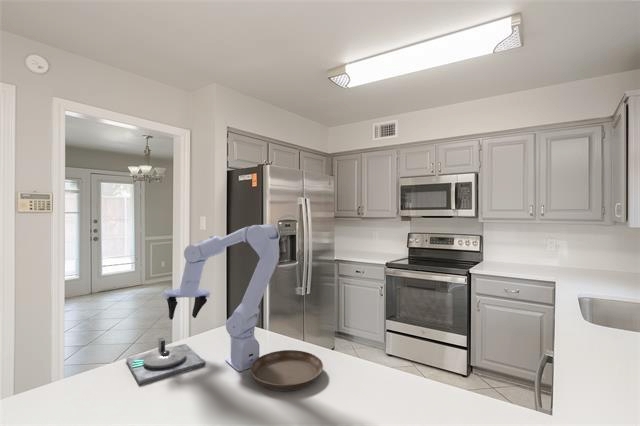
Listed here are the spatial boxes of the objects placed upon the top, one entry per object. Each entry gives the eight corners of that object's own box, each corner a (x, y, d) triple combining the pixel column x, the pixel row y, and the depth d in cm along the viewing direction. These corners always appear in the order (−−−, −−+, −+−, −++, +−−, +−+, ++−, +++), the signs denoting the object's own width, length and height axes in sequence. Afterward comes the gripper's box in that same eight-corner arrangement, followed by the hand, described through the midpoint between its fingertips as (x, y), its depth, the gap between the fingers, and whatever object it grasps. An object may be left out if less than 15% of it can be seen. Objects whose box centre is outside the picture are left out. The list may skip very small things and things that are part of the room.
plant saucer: (314, 400, 84) (314, 387, 84) (238, 391, 88) (238, 378, 88) (328, 363, 104) (328, 353, 104) (266, 357, 108) (266, 347, 108)
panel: (204, 365, 102) (205, 360, 102) (139, 385, 90) (139, 379, 90) (185, 347, 116) (185, 342, 116) (126, 362, 104) (126, 357, 104)
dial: (191, 360, 102) (191, 344, 102) (148, 372, 95) (148, 354, 95) (179, 348, 111) (179, 333, 111) (139, 358, 104) (139, 342, 104)
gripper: (208, 275, 118) (199, 310, 120) (165, 274, 109) (156, 313, 110) (215, 282, 113) (206, 320, 114) (171, 282, 104) (161, 323, 105)
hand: (182, 317), depth 112 cm, fingers open, 7 cm apart
